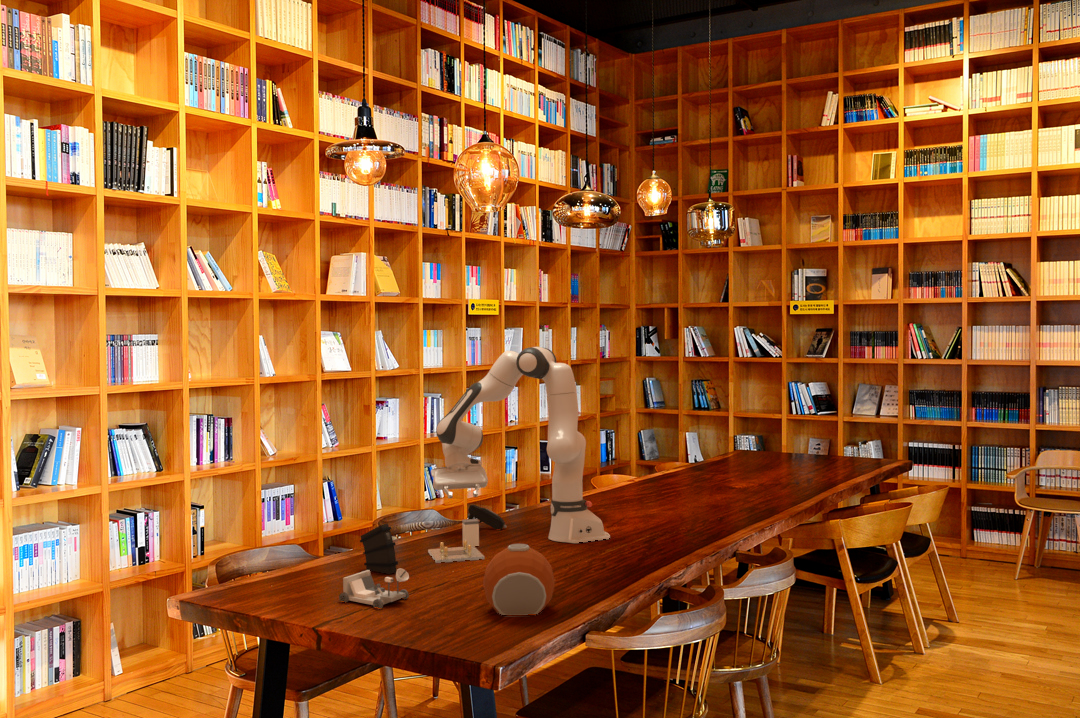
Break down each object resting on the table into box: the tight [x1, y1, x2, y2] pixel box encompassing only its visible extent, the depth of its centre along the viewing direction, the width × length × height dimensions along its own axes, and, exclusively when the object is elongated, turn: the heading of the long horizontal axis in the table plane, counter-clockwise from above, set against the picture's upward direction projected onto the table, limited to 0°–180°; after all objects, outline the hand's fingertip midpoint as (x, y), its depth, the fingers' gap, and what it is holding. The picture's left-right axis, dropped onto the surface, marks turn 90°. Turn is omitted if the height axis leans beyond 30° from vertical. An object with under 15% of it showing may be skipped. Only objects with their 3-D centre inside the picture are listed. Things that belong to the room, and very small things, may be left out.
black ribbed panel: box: [359, 523, 399, 575], centre depth 280 cm, size 4×13×15 cm, turn 53°
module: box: [461, 518, 480, 548], centre depth 314 cm, size 5×4×9 cm
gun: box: [467, 504, 508, 530], centre depth 343 cm, size 3×16×10 cm, turn 78°
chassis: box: [427, 540, 485, 564], centre depth 299 cm, size 16×16×4 cm
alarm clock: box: [482, 543, 556, 616], centre depth 237 cm, size 19×18×17 cm
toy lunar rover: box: [338, 568, 410, 609], centre depth 247 cm, size 18×10×12 cm
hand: (463, 496), depth 326 cm, fingers open, 8 cm apart
